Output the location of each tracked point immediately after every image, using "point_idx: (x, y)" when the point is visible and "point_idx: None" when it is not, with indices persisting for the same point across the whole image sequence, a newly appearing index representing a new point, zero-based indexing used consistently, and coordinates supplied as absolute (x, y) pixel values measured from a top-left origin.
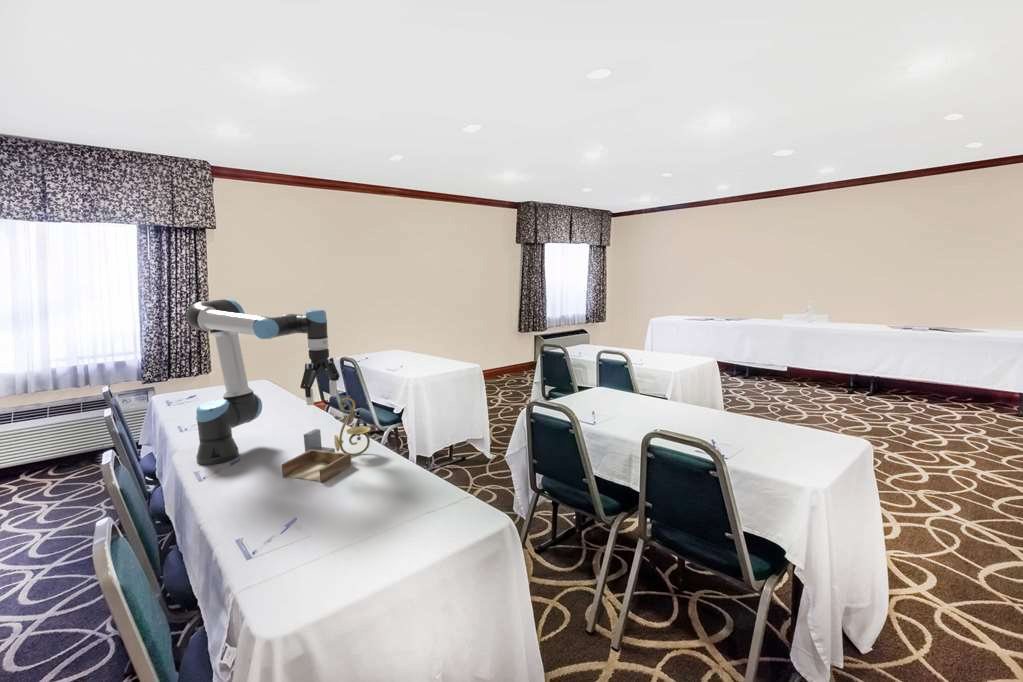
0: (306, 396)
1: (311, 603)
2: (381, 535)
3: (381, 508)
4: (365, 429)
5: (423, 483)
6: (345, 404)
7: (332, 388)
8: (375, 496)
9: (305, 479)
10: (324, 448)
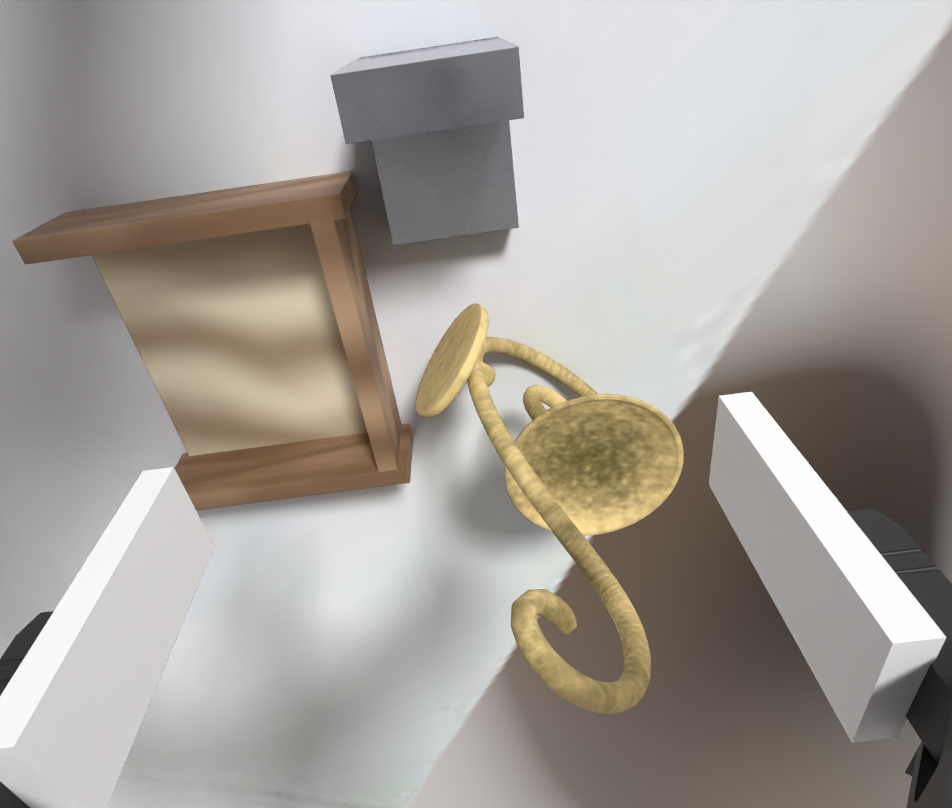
0: (33, 642)
1: None
2: None
3: (209, 720)
4: (642, 477)
5: (416, 718)
6: (564, 631)
7: (774, 548)
8: (252, 672)
9: (148, 365)
10: (486, 153)
